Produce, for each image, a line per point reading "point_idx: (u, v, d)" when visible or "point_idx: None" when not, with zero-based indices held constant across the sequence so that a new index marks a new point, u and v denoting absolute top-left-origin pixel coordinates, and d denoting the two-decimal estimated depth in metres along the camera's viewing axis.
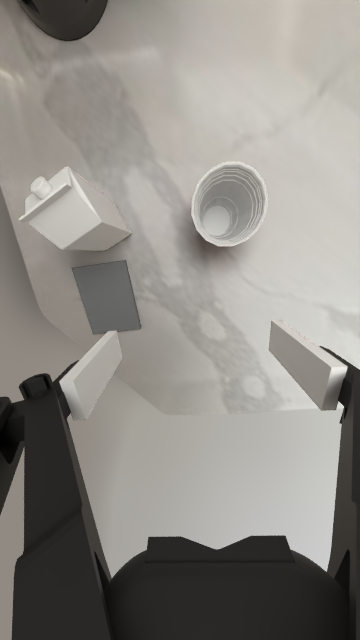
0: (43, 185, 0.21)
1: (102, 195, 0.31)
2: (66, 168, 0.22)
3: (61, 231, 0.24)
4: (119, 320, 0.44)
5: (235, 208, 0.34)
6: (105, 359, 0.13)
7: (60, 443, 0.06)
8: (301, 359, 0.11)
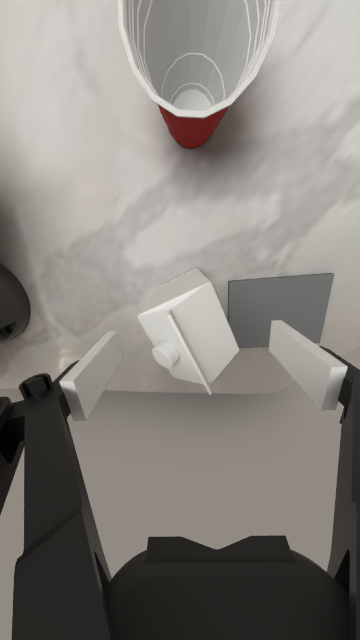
0: (165, 350, 0.14)
1: (158, 290, 0.24)
2: (139, 317, 0.16)
3: (220, 343, 0.16)
4: (311, 303, 0.30)
5: (179, 62, 0.19)
6: (105, 359, 0.13)
7: (60, 443, 0.06)
8: (301, 359, 0.11)
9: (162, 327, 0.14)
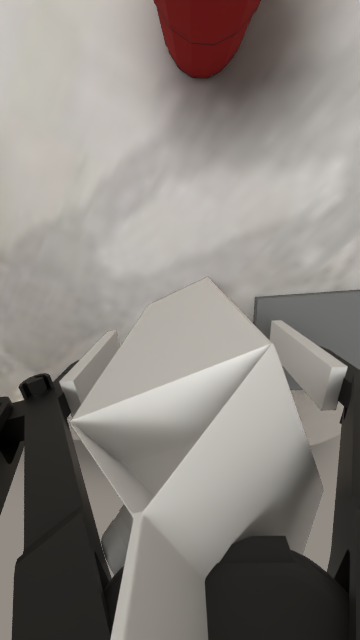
0: None
1: (145, 319, 0.14)
2: (75, 429, 0.06)
3: (292, 506, 0.06)
4: None
5: None
6: (105, 359, 0.13)
7: (60, 443, 0.06)
8: (301, 359, 0.11)
9: None
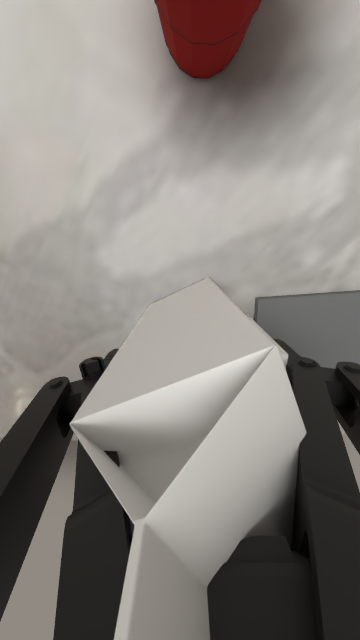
0: None
1: (146, 319, 0.14)
2: (75, 431, 0.06)
3: None
4: None
5: None
6: None
7: None
8: None
9: None
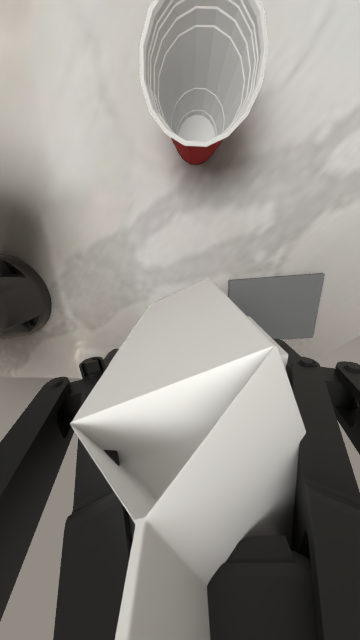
0: None
1: (146, 320, 0.14)
2: (76, 431, 0.06)
3: None
4: (304, 301, 0.33)
5: (186, 95, 0.22)
6: None
7: None
8: None
9: None
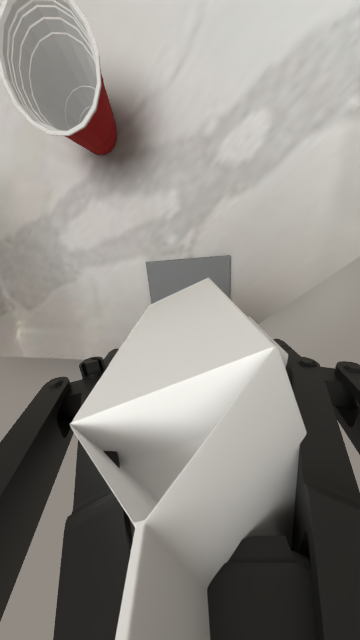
0: None
1: (146, 320, 0.14)
2: (75, 432, 0.06)
3: None
4: (215, 281, 0.36)
5: (76, 92, 0.26)
6: None
7: None
8: None
9: None
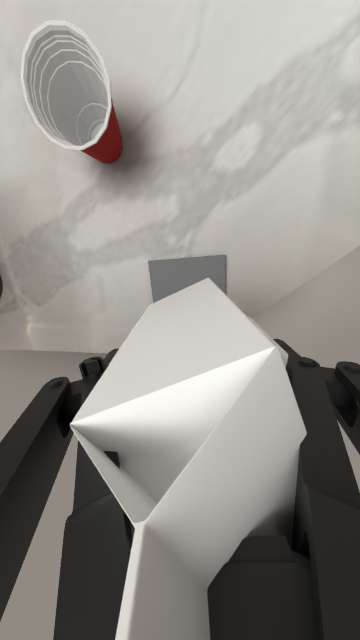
0: None
1: (146, 320, 0.14)
2: (75, 432, 0.06)
3: None
4: (212, 278, 0.39)
5: (86, 108, 0.29)
6: None
7: None
8: None
9: None
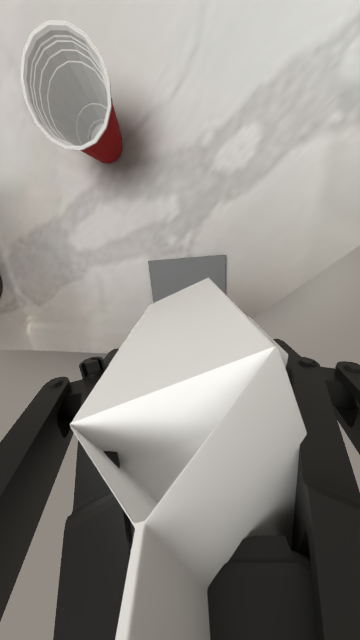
0: None
1: (146, 320, 0.14)
2: (75, 432, 0.06)
3: None
4: (212, 278, 0.39)
5: (86, 108, 0.29)
6: None
7: None
8: None
9: None
